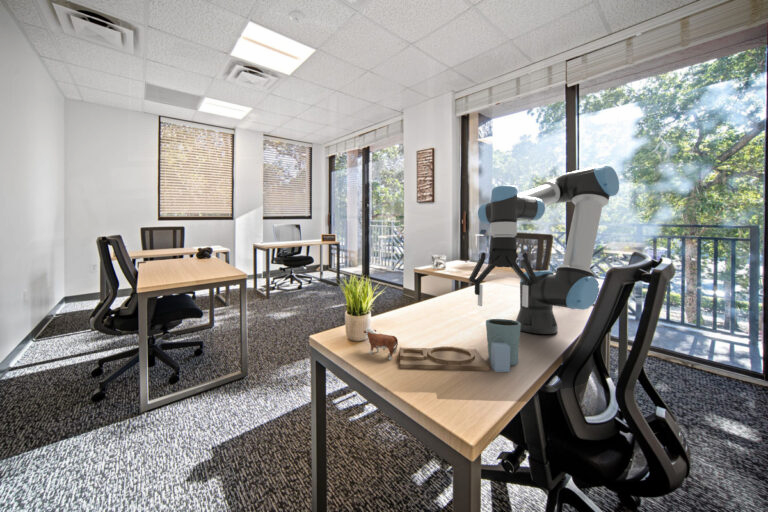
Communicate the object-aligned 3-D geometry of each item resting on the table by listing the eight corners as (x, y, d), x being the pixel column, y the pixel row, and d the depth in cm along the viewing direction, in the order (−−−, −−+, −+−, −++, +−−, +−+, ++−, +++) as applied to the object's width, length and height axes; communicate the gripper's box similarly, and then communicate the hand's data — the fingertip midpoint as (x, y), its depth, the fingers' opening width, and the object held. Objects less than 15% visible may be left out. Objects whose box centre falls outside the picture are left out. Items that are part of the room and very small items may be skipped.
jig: (475, 352, 105) (475, 346, 105) (489, 370, 89) (489, 362, 89) (400, 351, 106) (400, 344, 106) (400, 368, 90) (400, 360, 90)
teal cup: (507, 368, 91) (508, 326, 91) (478, 359, 99) (478, 320, 99) (527, 361, 97) (527, 322, 97) (497, 353, 105) (498, 317, 105)
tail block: (505, 366, 92) (505, 342, 92) (509, 372, 88) (509, 346, 88) (491, 366, 92) (491, 342, 92) (495, 371, 88) (495, 346, 88)
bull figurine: (368, 350, 108) (368, 326, 108) (400, 358, 99) (400, 332, 99) (359, 353, 104) (359, 328, 104) (391, 362, 96) (392, 335, 96)
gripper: (539, 238, 100) (538, 305, 101) (460, 237, 102) (459, 303, 102) (550, 236, 93) (549, 309, 93) (464, 235, 94) (463, 307, 94)
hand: (502, 306), depth 97 cm, fingers open, 13 cm apart
